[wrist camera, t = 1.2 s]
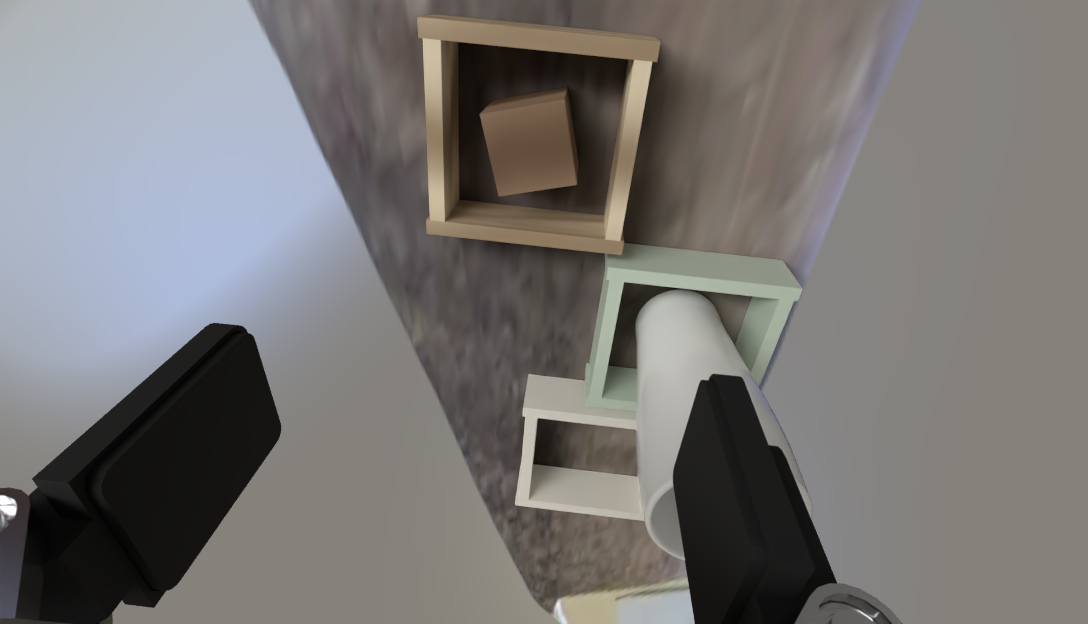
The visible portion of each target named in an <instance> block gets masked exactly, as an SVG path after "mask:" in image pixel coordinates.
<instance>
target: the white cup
mask: <svg viewBox="0 0 1088 624" xmlns="http://www.w3.org/2000/svg"><path fill="white" fill-rule="evenodd" d="M635 335H636V343H637V382H636V459H637V470H638V479H639V487H640V494H641V501H642V507H643V513H644V520H645V525H646V529H647V531H648V533H649V535H650V537H651V538H652V540H653V541H654V542H655V543H656V544H657V545H658V546H659V547H660V548H661V549H663V550H664V551H665V552H667V553H669V554H670V555H672V556H674V557H676V558H679V559H681V560H684V561H685V557H684V551H683V544H682V538H681V532H680V525H679V519H678V513H677V506H676V500H675V494H674V487H673V469H674V465H675V462H676V459H677V455H678V452H679V449H680V445H681V442H682V439H683V435H684V432H685V429H686V425H687V422H688V419H689V415H690V412H691V409H692V405H693V402H694V399H695V395H696V392H697V389H698V386H699V383H700V381H701V380H709V377H710V376H711V375H712V374H722V375H732V376H740V377H742V378H743V380H744V382H745V384H746V387H747V390H748V392H749V395H750V397H751V400H752V403H753V405H754V408H755V411H756V413H757V416H758V419H759V421H760V424H761V426H762V429H763V432H764V434H765V437H766V440H767V442H768V445H772V446H778V447H779V448H780V449H781V450H782V451H783V453H784V454H785V456H786V459H787V461H788V464H789V466H790V468H791V471H792V473H793V476H794V478H795V481H796V483H797V486H798V488H799V491H800V493H801V495H802V498H803V500H804V503H805V505H806V508H807V510H808V513H809V515H810V518H812V503H811V499H810V496H809V494H808V491H807V489H806V486H805V483H804V480H803V478H802V475H801V472H800V470H799V467H798V464H797V462H796V459H795V457H794V454H793V452H792V450H791V447H790V445H789V443H788V441H787V438H786V436H785V434H784V432H783V430H782V428H781V426H780V424H779V422H778V420H777V418H776V416H775V414H774V413H773V411H772V409H771V407H770V405H769V404H768V402H767V400H766V399H765V397H764V395H763V393H762V392H761V390H760V388H759V386H758V385H757V383H756V381H755V380H754V378H753V376H752V374H751V373H750V371H749V369H748V368H747V366H746V364H745V363H744V361H743V359H742V357H741V356H740V354H739V352H738V350H737V349H736V347H735V345H734V343H733V342H732V340H731V338H730V336H729V335H728V333H727V331H726V329H725V328H724V326H723V324H722V321H721V319H720V316H719V314H718V312H717V310H716V308H715V306H714V305H713V304H712V303H711V301H710V300H708V299H707V298H706V297H704V296H703V295H701V294H699V293H697V292H694V291H690V290H683V289H676V290H669V291H666V292H663V293H660V294H658V295H656V296H654V297H653V298H651V299H650V300H649V301H647V302H646V303H645V304H644V306H643V307H642V308H641V310H640V311H639V313H638V316H637V318H636V323H635Z"/></svg>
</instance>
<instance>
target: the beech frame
mask: <svg viewBox="0 0 1088 624" xmlns="http://www.w3.org/2000/svg"><path fill="white" fill-rule="evenodd" d="M417 19H418V38H423V56H424V82H425V107H426V132H427V158H428V183H429V208H430V215H429V217H428V218H427V220H426V225H427V234H434V235H443V236H452V237H461V238H470V239H479V240H488V241H497V242H507V243H516V244H525V245H534V246H543V247H552V248H561V249H570V250H579V251H588V252H597V253H606V254H615V255H622V250H623V245H624V237H623V230H622V229H623V224H624V218H625V212H626V207H627V201H628V196H629V190H630V185H631V179H632V173H633V168H634V162H635V157H636V151H637V146H638V140H639V134H640V129H641V123H642V118H643V112H644V107H645V101H646V95H647V90H648V84H649V79H650V73H651V68H652V62H657V60H658V55H659V49H660V44H661V41H659V40H658V39H656V38H655V37H653V36H647V35H637V34H627V33H618V32H608V31H598V30H588V29H578V28H568V27H558V26H548V25H538V24H528V23H518V22H509V21H499V20H489V19H479V18H469V17H459V16H449V15H439V14H437V15H429V16H421V17H417ZM458 42H464V43H474V44H484V45H494V46H504V47H513V48H523V49H533V50H543V51H553V52H562V53H572V54H582V55H592V56H602V57H611V58H621V59H628V63H627V70H626V76H625V83H624V89H623V96H622V102H621V108H620V115H619V121H618V128H617V134H616V141H615V147H614V153H613V160H612V166H611V173H610V179H609V185H608V192H607V198H606V205H605V211H604V215H597V214H588V213H579V212H569V211H560V210H551V209H542V208H533V207H524V206H514V205H505V204H496V203H487V202H478V201H468V200H459V86H458Z"/></svg>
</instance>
